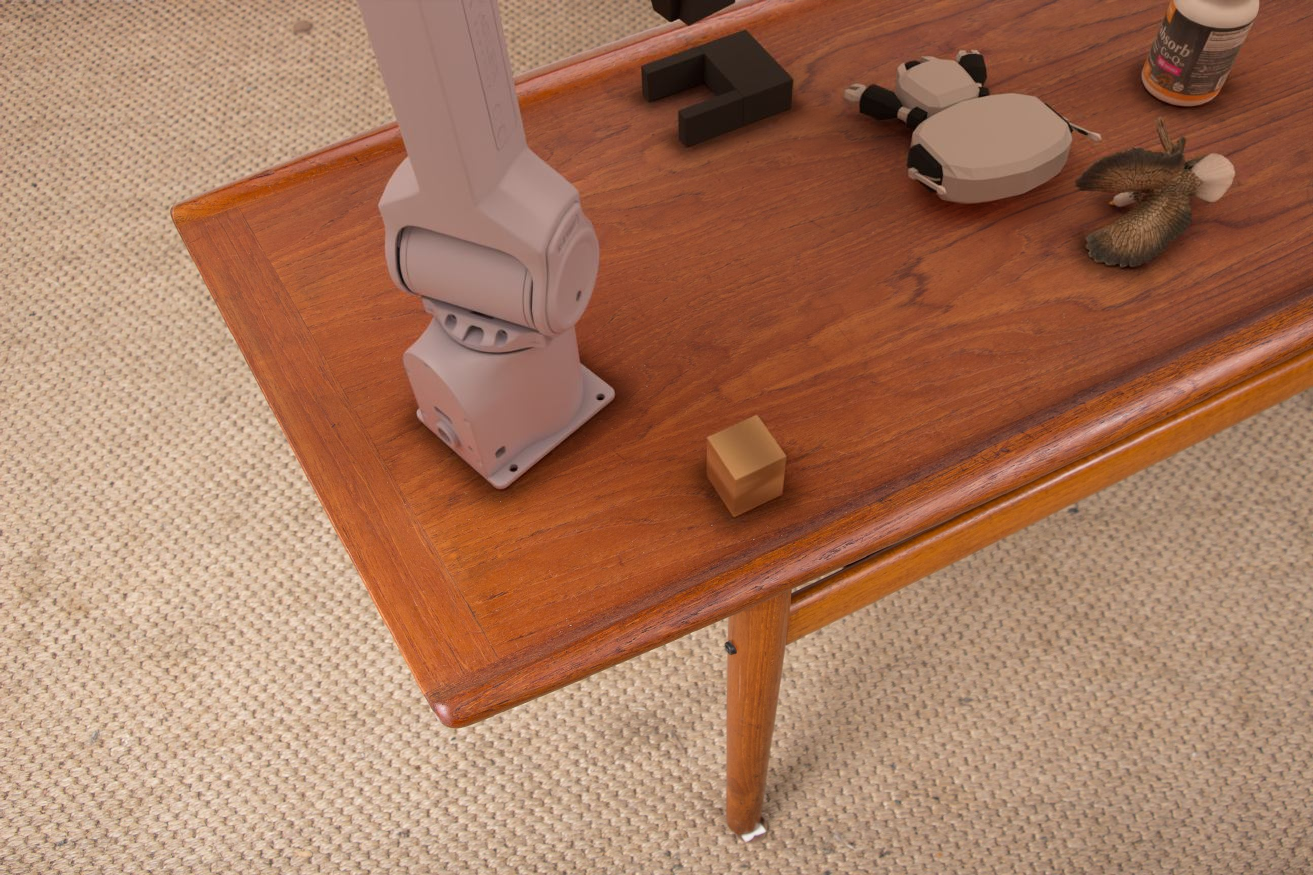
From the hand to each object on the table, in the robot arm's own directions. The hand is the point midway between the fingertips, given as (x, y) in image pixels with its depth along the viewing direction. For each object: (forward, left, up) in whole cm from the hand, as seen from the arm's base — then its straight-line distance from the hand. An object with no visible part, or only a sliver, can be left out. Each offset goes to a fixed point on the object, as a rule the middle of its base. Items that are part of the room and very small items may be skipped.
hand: (692, 1), depth 72 cm
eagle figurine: (+12, -29, -10) cm, 33 cm away
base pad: (+3, 0, -10) cm, 10 cm away
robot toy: (+10, -16, -10) cm, 22 cm away
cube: (-21, -24, -10) cm, 34 cm away
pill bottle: (+27, -24, -10) cm, 38 cm away
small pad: (0, 0, 0) cm, 0 cm away
